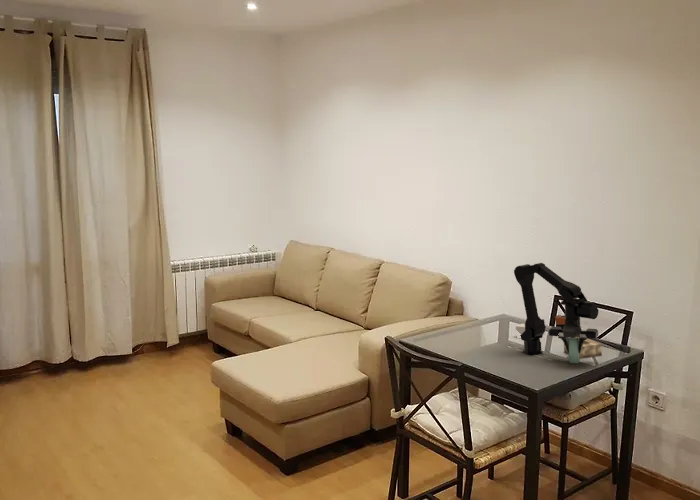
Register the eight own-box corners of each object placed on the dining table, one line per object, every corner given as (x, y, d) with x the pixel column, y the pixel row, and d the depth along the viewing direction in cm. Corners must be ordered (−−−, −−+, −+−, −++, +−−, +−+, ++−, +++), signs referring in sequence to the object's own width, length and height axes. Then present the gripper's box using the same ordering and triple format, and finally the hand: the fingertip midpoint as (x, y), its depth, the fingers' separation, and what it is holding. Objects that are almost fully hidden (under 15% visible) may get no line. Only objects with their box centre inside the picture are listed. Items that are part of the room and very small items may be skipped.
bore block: (578, 358, 259) (578, 347, 258) (564, 352, 269) (563, 341, 269) (601, 355, 261) (601, 343, 260) (586, 349, 272) (585, 338, 271)
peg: (572, 363, 252) (571, 340, 251) (567, 361, 256) (566, 338, 255) (581, 362, 253) (580, 339, 252) (575, 360, 257) (574, 336, 256)
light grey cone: (533, 336, 299) (533, 324, 298) (527, 339, 295) (526, 327, 294) (522, 335, 303) (522, 323, 303) (516, 337, 299) (515, 325, 299)
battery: (571, 335, 295) (570, 315, 294) (556, 335, 297) (555, 315, 296) (570, 333, 299) (569, 313, 298) (556, 333, 301) (555, 313, 300)
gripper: (544, 319, 251) (546, 356, 253) (592, 321, 241) (593, 359, 243) (551, 313, 260) (553, 348, 262) (597, 315, 250) (599, 352, 252)
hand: (574, 352), depth 254 cm, fingers closed on peg, 4 cm apart
